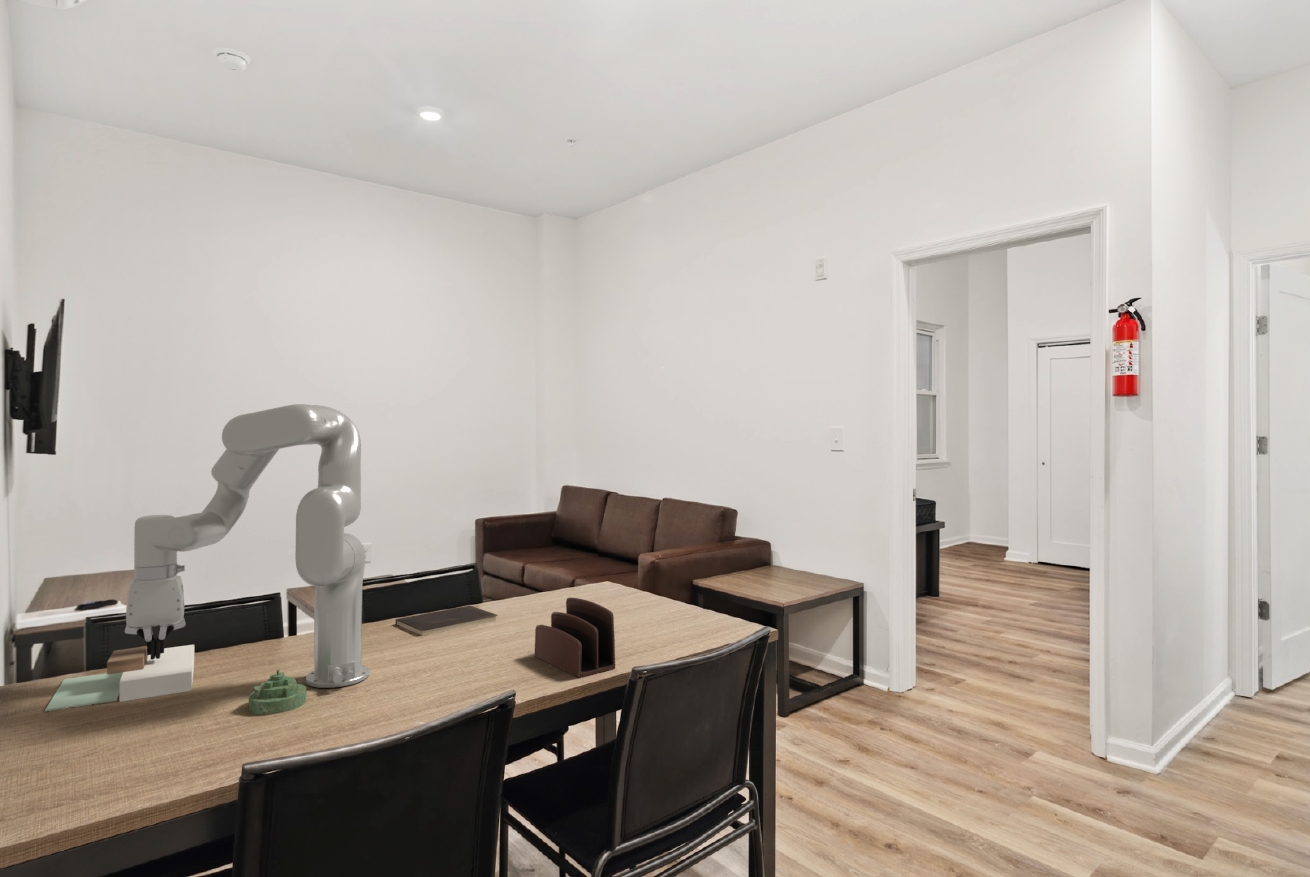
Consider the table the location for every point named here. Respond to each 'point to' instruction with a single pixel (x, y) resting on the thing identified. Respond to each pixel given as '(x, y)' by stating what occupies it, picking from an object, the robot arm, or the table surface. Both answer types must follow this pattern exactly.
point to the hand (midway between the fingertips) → (155, 657)
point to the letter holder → (578, 639)
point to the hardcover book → (445, 620)
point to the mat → (86, 691)
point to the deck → (160, 675)
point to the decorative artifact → (277, 695)
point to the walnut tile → (127, 660)
